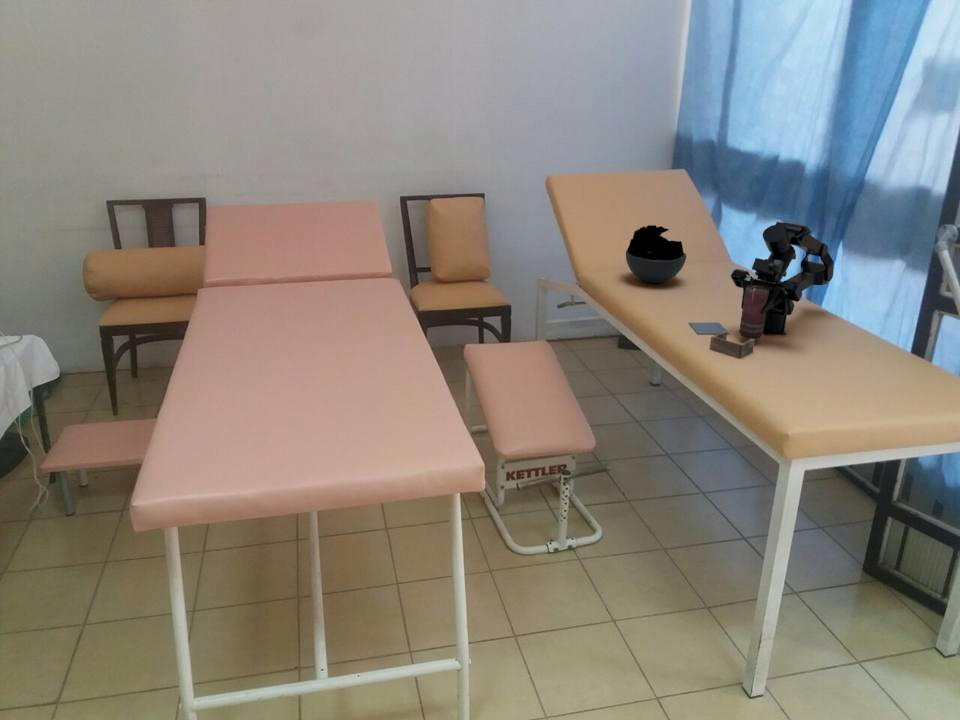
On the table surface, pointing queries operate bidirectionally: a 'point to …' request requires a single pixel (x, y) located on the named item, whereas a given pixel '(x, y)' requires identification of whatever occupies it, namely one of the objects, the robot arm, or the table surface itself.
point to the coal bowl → (654, 255)
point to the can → (753, 311)
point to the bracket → (731, 345)
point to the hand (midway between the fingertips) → (751, 310)
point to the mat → (707, 328)
